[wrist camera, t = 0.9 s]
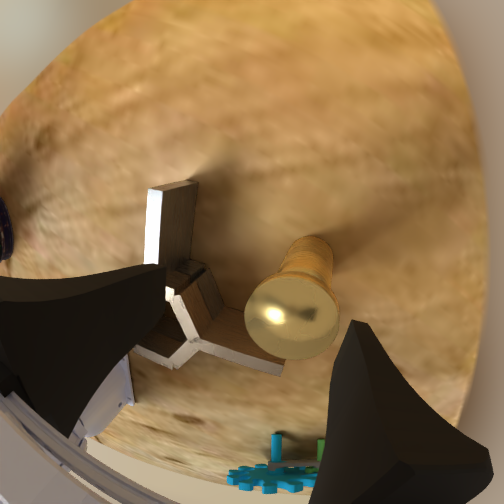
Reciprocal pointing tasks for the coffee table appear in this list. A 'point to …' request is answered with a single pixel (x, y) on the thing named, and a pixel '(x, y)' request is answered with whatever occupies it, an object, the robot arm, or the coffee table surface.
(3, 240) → the storage jar
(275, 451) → the gear
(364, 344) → the robot arm
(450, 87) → the coffee table surface
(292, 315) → the hinge pin
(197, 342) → the hinge
